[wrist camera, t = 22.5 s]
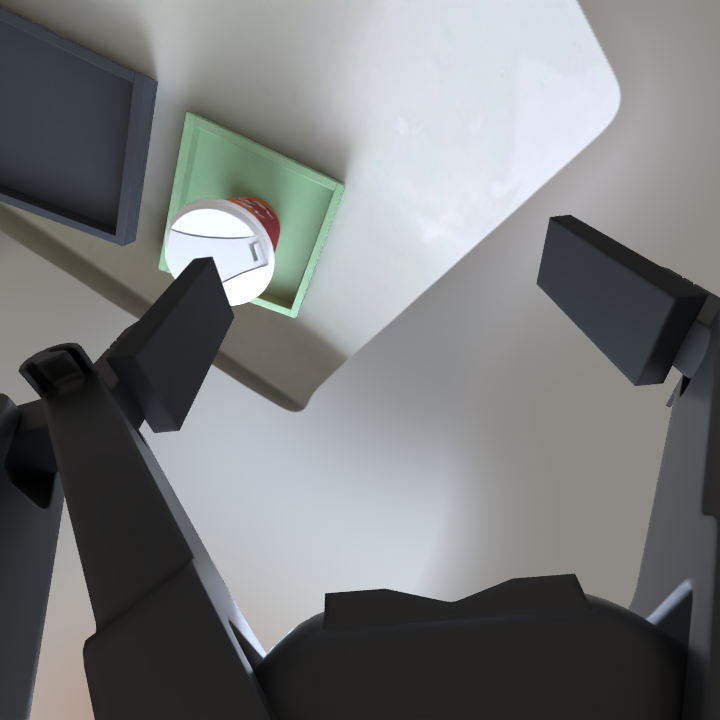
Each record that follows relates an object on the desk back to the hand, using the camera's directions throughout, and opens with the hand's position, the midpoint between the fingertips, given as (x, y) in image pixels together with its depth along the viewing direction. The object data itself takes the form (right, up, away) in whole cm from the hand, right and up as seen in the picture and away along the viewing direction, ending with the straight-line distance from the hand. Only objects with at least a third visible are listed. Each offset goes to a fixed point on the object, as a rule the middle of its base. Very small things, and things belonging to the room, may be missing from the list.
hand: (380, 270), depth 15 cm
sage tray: (-12, +11, +23) cm, 28 cm away
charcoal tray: (-28, +17, +18) cm, 38 cm away
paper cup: (-12, +10, +23) cm, 28 cm away
